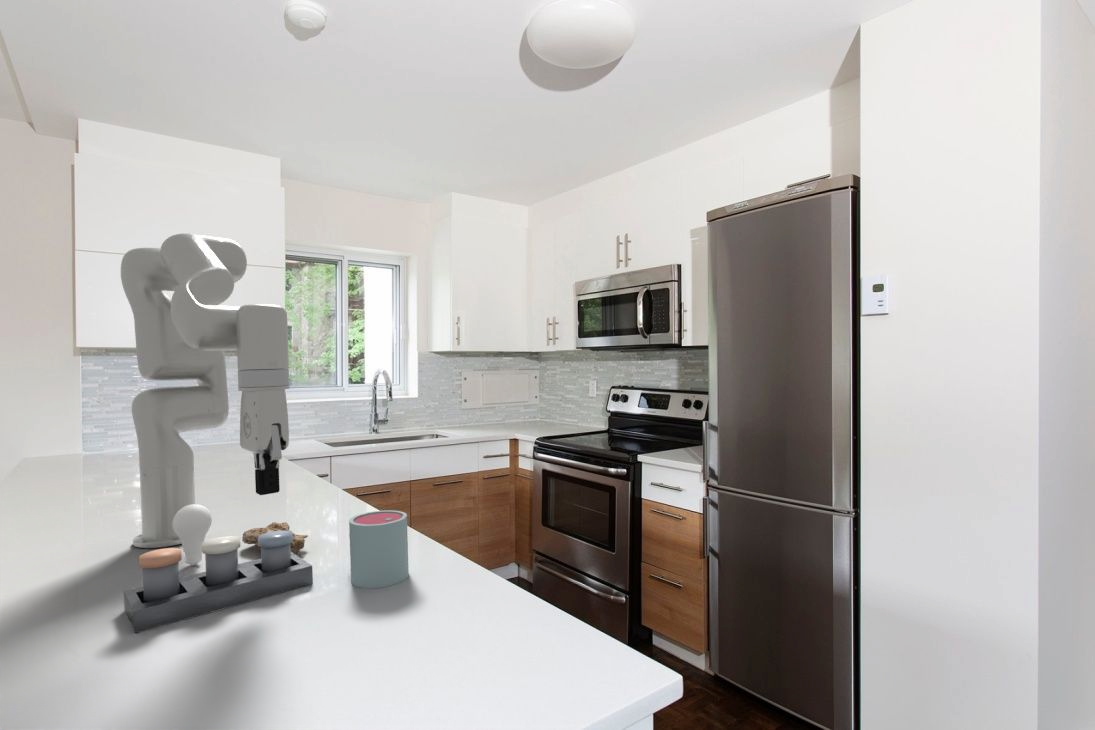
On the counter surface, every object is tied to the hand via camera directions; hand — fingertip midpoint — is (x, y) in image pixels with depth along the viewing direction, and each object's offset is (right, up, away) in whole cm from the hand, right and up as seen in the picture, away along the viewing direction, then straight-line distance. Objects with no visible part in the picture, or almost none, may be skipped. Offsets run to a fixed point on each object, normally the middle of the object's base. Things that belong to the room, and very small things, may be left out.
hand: (267, 492), depth 96 cm
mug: (+16, -15, +4) cm, 22 cm away
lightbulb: (-18, -16, +10) cm, 26 cm away
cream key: (-5, -13, -5) cm, 14 cm away
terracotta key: (-11, -13, -10) cm, 20 cm away
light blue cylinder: (+1, -13, +1) cm, 13 cm away
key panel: (-5, -15, -5) cm, 17 cm away
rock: (-6, -15, +19) cm, 25 cm away
